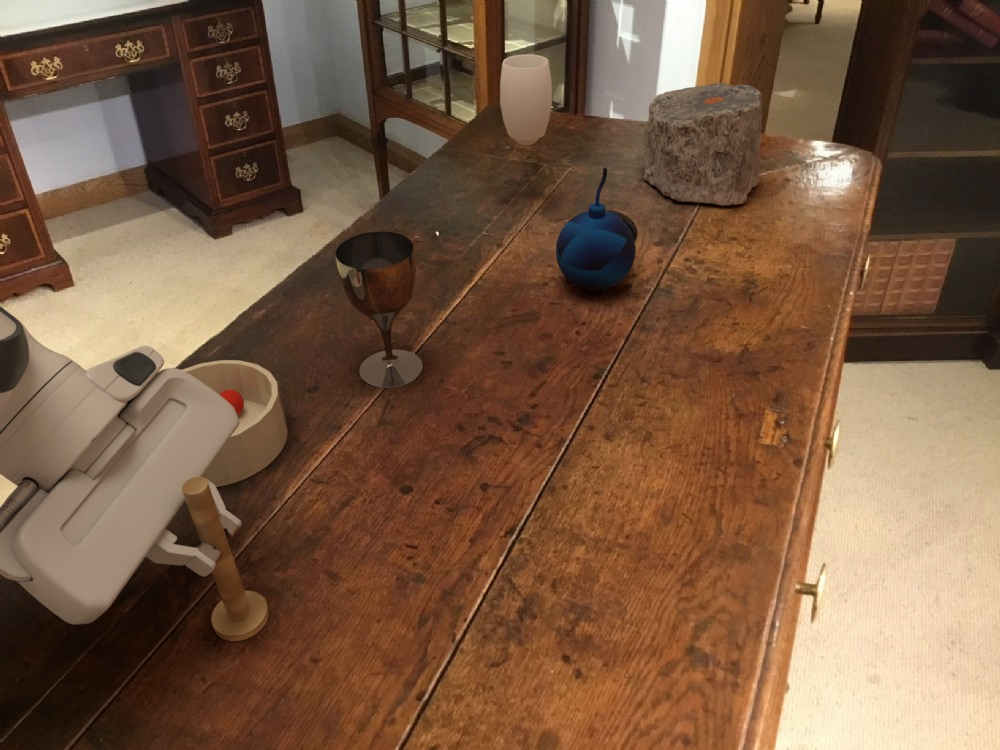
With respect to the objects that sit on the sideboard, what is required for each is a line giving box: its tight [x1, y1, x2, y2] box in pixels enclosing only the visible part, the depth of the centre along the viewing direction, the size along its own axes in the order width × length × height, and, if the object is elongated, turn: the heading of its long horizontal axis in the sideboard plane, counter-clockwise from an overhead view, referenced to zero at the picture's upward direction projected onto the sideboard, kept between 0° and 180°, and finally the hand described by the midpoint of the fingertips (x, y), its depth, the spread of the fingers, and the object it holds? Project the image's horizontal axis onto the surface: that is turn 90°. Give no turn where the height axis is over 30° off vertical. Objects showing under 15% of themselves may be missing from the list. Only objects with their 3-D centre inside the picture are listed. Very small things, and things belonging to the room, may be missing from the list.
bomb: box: [555, 167, 639, 292], centre depth 104 cm, size 10×11×15 cm
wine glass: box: [335, 231, 424, 389], centre depth 91 cm, size 8×8×15 cm
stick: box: [182, 477, 270, 642], centre depth 64 cm, size 4×4×15 cm
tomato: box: [219, 390, 244, 415], centre depth 88 cm, size 3×3×3 cm
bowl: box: [181, 359, 289, 488], centre depth 85 cm, size 13×13×6 cm
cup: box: [499, 53, 553, 146], centre depth 121 cm, size 7×7×21 cm
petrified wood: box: [643, 82, 763, 206], centre depth 126 cm, size 19×17×15 cm
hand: (224, 549), depth 64 cm, fingers closed on stick, 2 cm apart
